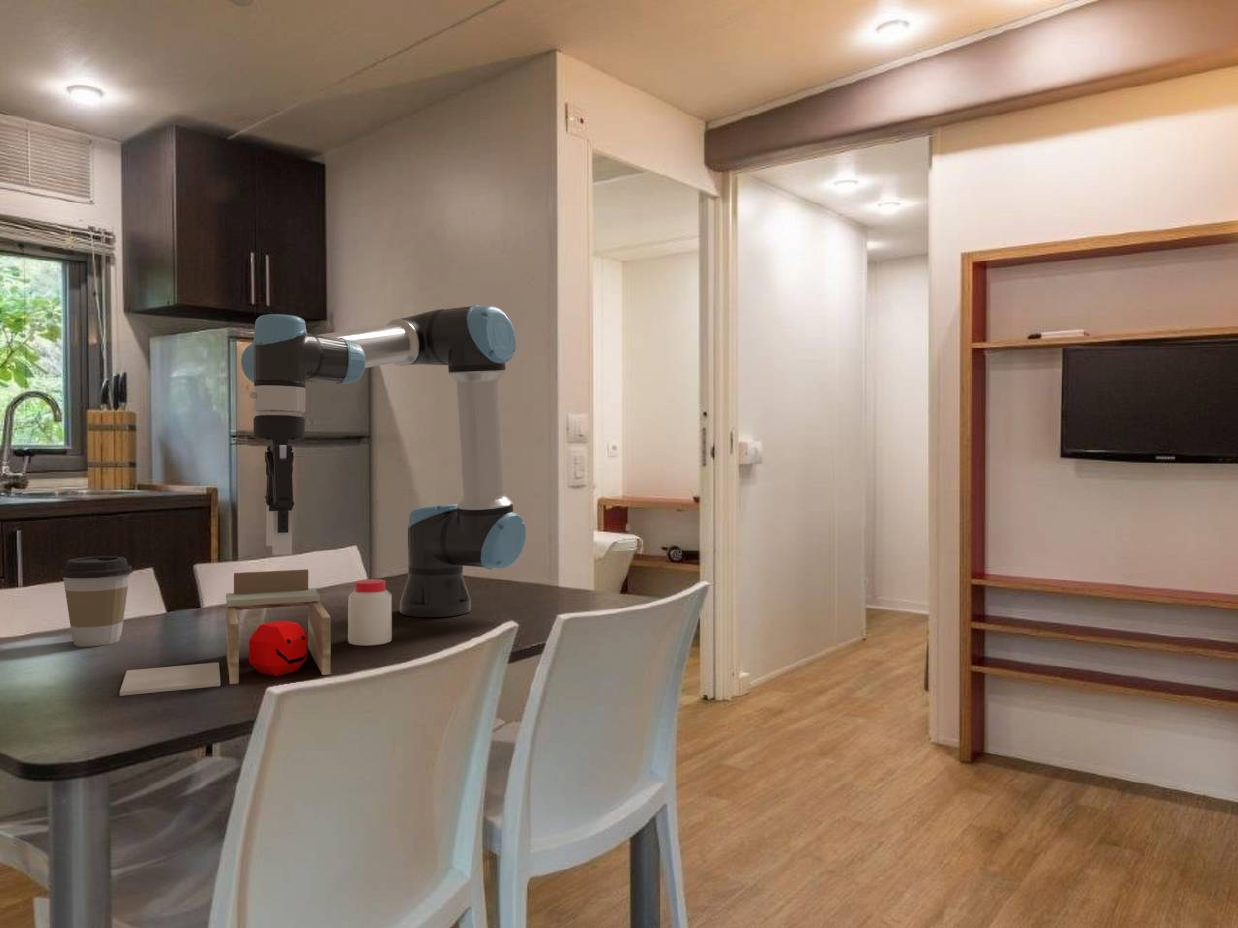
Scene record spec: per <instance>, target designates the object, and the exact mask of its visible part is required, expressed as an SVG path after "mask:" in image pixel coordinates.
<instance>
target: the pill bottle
mask: <svg viewBox="0 0 1238 928" xmlns="http://www.w3.org/2000/svg"><path fill="white" fill-rule="evenodd" d="M386 582H387V581H386V580H385V579H381V578H380V579H378V578H376V579H375V578H374V579H373V578H372V579H370V578H369V579H368V578H367V579H360V580H358V579H357V580H355V581H354V590H353V591H352V592H351V593H350V594H349V595H348V596H347V598H348V599H347V600H348V601H347V602H348V603H347V606H348V608H347V609H348V610H347V616H348V617H347V619H348V620H347V625H348V626H347V628H348V629H347V642H348V643H349V644H350V645H353V646H363V647H364V646H378V645H384V644H387V643H390V642H391V641H392V640H393V630H392V629H393V595H392V593H391V592H390V591H389V590H388V589H386V586H387V583H386Z"/></svg>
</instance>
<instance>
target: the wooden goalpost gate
mask: <svg viewBox="0 0 1238 928" xmlns="http://www.w3.org/2000/svg"><path fill="white" fill-rule="evenodd" d="M225 605H226V606H225V609H226V612H225V613H226V615H225V616H226V619H225V620H226V621H225V622H226V624H225V625H226V627H225V630H226V631H225V632H226V633H225V634H226V635H225V637H226V638H225V641H226V642H225V643H226V645H225V646H226V650H225V652H226V655H225V656H226V663H227V665H226V666H227V671H228V672H227V674H228V678H229V679H228V680H229V685H235V684H237V685H238V684H239V681H240V677H239V676H240V675H239V673H240V668H239V667H240V664H239V663H240V661H239V660H240V657H239V656H240V653H239V652H240V650H239V649H240V647H239V646H240V643H239V641H240V639H239V637H240V636H239V634H240V632H239V631H240V630H239V629H240V626H239V623H240V622H239V618H238V615H237V614H238V613H237V611H241V610H242V611H243V610H257V609H272V608H273V609H274V608H285V607H287V608H289V607H302V606H303V607H304V606H305V607H306V606H308V609H307V611H308V613H307V615H308V617H307V621H308V623H307V626H308V627H307V634H308V643H307V650H308V651H309V652H310V655H311V656H312V658H313V660H314V662H315V664H316V666H317V667H318V670H319V671H320V672H321V675H322V676H326V675H327V676H328V675H331V661H332V660H331V655H332V653H331V651H332V650H331V648H332V647H331V646H332V645H331V644H332V643H331V641H332V640H331V635H332V634H331V631H332V630H331V625H332V624H331V623H332V621H331V616H330V614H329V613H328V611H327V610H326V609H325V607H324V606H323V605H322V604H321V602H320V601H312V602H296V603H280V604H265V605H249V606H233V607H227V602H226V603H225Z"/></svg>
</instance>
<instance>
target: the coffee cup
mask: <svg viewBox="0 0 1238 928" xmlns="http://www.w3.org/2000/svg"><path fill="white" fill-rule="evenodd" d="M132 573H134V572H133V566H132V565H131V564H128V560H127V558H126V557H123V556H115V555H114V556H112V555H111V556H110V555H109V556H107V555H106V556H88V557H78V558H72V559H71V558H70V559H69V560H67V561H66V563H65V567H64V568H62V569H61V570H60V575H59V576H60V578H63V584H64V591H65V599H66V605H67V611H68V619H69V624H70V625H69V626H70V633H71V638H72V641H73V645H74V646H77V647H81V648H82V647H83V648H84V647H85V648H86V647H87V648H89V647H90V648H91V647H102V646H107V645H114V644H116V643H119V642H120V638H121V636H122V632H123V624H124V619H125V618H124V617H125V613H126V612H125V610H126V603H127V595H128V588H129V581H130V574H132Z"/></svg>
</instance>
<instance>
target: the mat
mask: <svg viewBox="0 0 1238 928" xmlns="http://www.w3.org/2000/svg"><path fill="white" fill-rule="evenodd" d="M220 686H221V673H220V663H219V662H218V661H217V662H208V663H198V664H185V665H174V666H162V667H151V668H143V669H142V668H140V669H130V670H129V669H128V670H126V672H125V674H124V678H123V681H122V684H121V687H120V690H119V696H120V697H121V696H132V695H133V696H135V695H140V694H142V695H143V694H151V693H152V694H153V693H161V692H171V691H172V692H173V691H182V690H195V689H203V688H212V687H213V688H214V687H220Z"/></svg>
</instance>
